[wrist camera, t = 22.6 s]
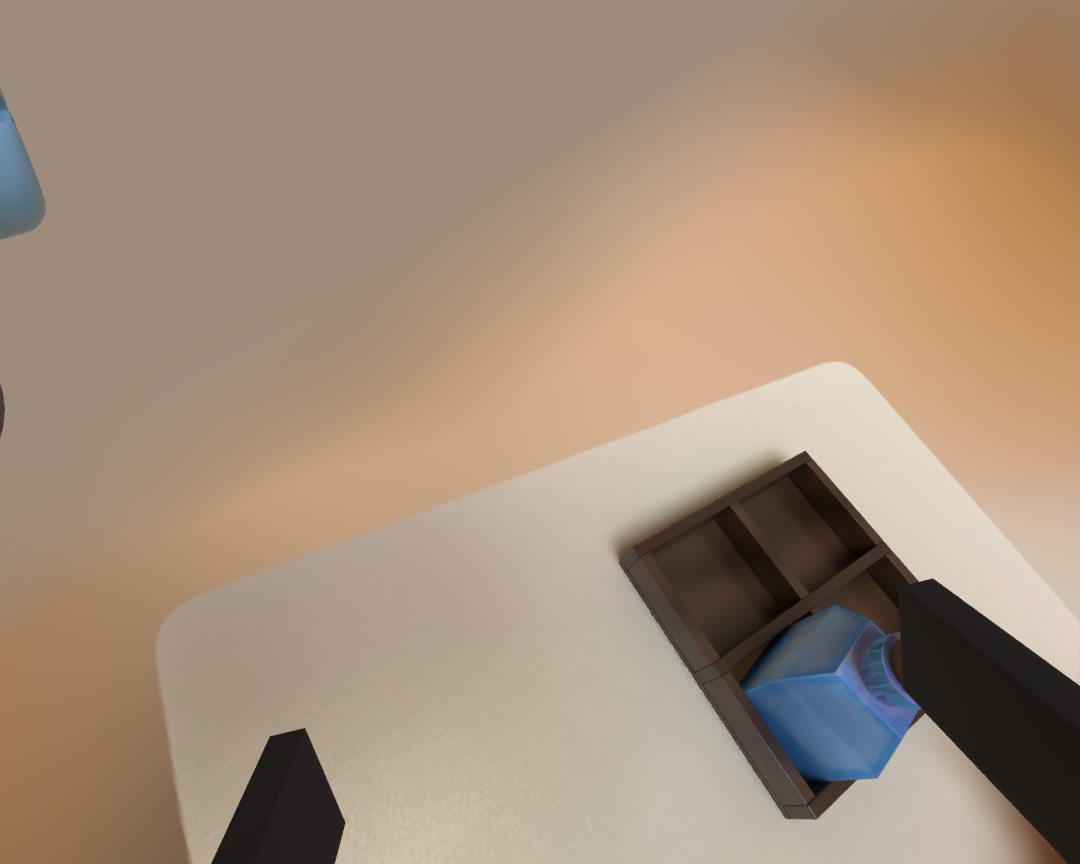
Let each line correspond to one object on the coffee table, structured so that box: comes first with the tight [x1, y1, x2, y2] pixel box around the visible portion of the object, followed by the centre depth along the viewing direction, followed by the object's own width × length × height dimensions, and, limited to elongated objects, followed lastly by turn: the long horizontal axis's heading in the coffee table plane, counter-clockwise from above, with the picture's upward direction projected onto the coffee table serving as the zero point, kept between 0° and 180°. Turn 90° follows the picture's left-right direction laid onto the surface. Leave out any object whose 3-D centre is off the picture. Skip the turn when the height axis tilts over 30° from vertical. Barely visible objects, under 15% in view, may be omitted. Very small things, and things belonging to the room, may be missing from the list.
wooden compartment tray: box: [619, 451, 925, 820], centre depth 40 cm, size 17×17×3 cm
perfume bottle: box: [738, 605, 921, 783], centre depth 32 cm, size 6×6×12 cm
